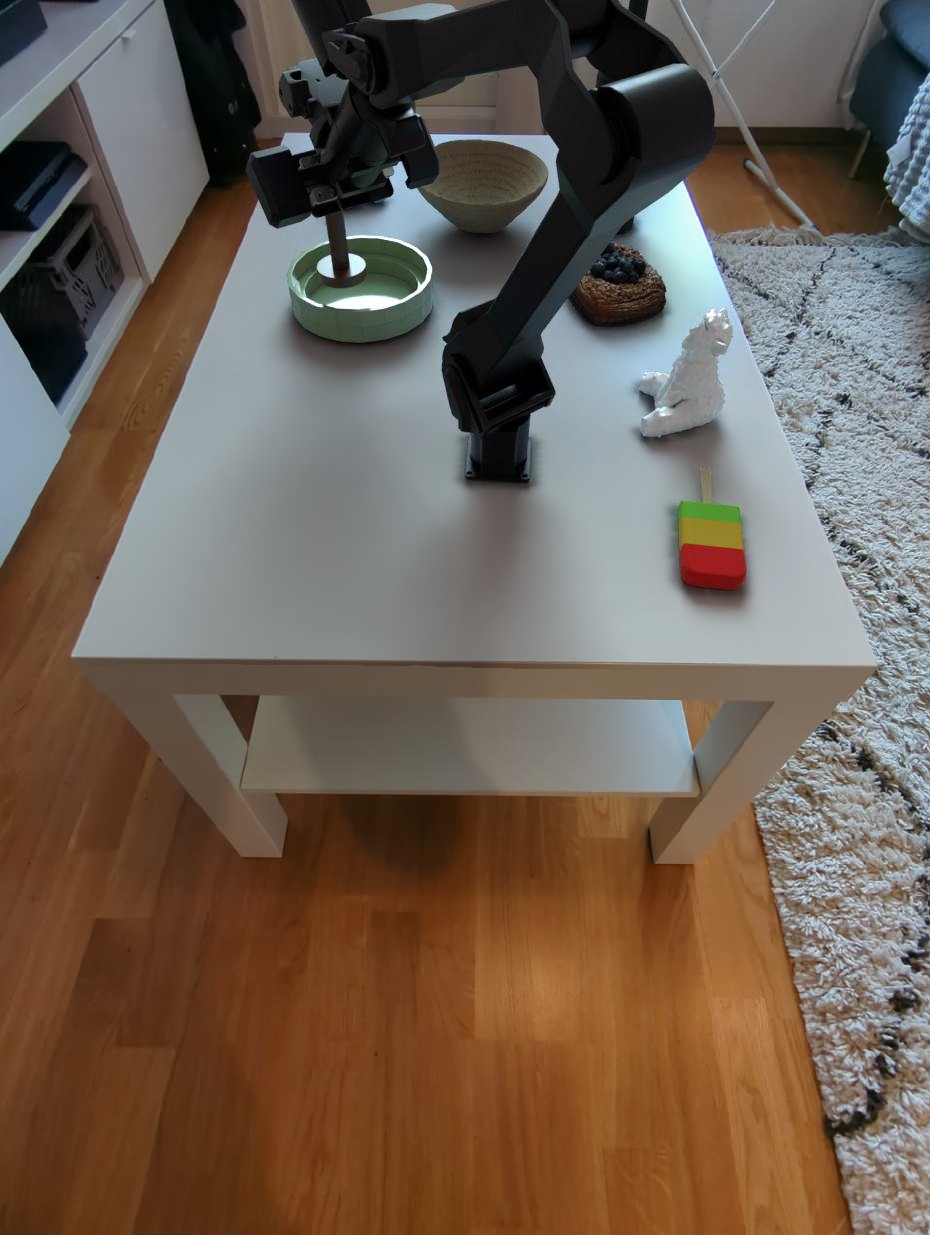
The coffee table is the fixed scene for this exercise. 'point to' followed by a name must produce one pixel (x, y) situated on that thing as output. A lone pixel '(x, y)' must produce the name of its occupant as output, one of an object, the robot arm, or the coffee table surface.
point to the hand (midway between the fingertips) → (328, 207)
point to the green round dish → (364, 292)
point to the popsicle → (710, 541)
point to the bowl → (484, 183)
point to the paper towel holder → (339, 255)
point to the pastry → (619, 289)
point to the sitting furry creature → (689, 380)
